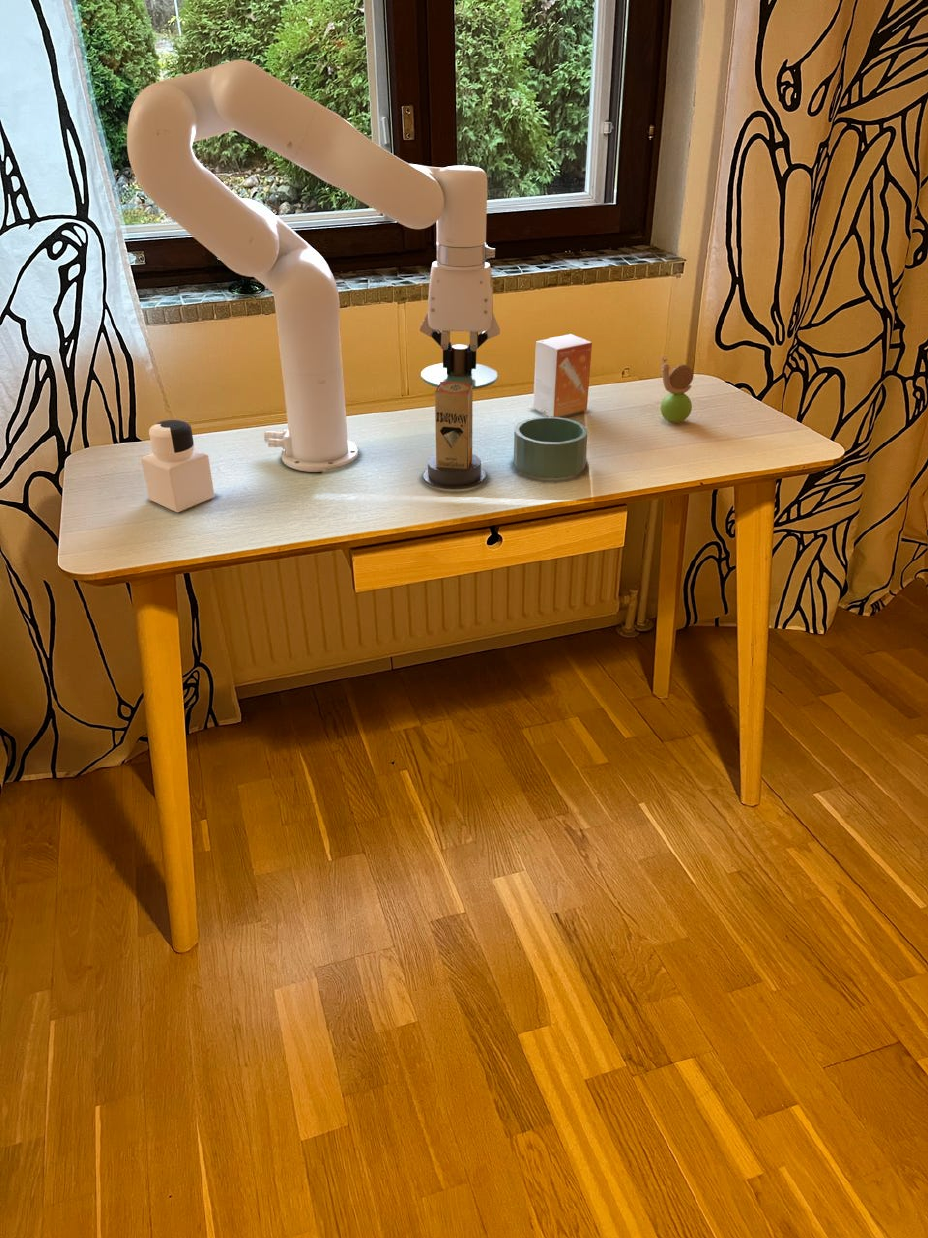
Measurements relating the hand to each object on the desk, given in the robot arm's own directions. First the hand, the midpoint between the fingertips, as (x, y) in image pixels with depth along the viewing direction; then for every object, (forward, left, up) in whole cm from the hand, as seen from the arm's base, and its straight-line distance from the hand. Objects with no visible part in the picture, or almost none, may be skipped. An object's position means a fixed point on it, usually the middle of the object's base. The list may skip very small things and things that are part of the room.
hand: (459, 371), depth 159 cm
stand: (0, -14, -13) cm, 19 cm away
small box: (+17, +17, -13) cm, 28 cm away
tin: (+15, -8, -13) cm, 21 cm away
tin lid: (0, 0, -1) cm, 1 cm away
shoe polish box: (0, -14, -10) cm, 17 cm away
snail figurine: (+37, +13, -13) cm, 42 cm away
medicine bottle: (-41, -24, -13) cm, 49 cm away
